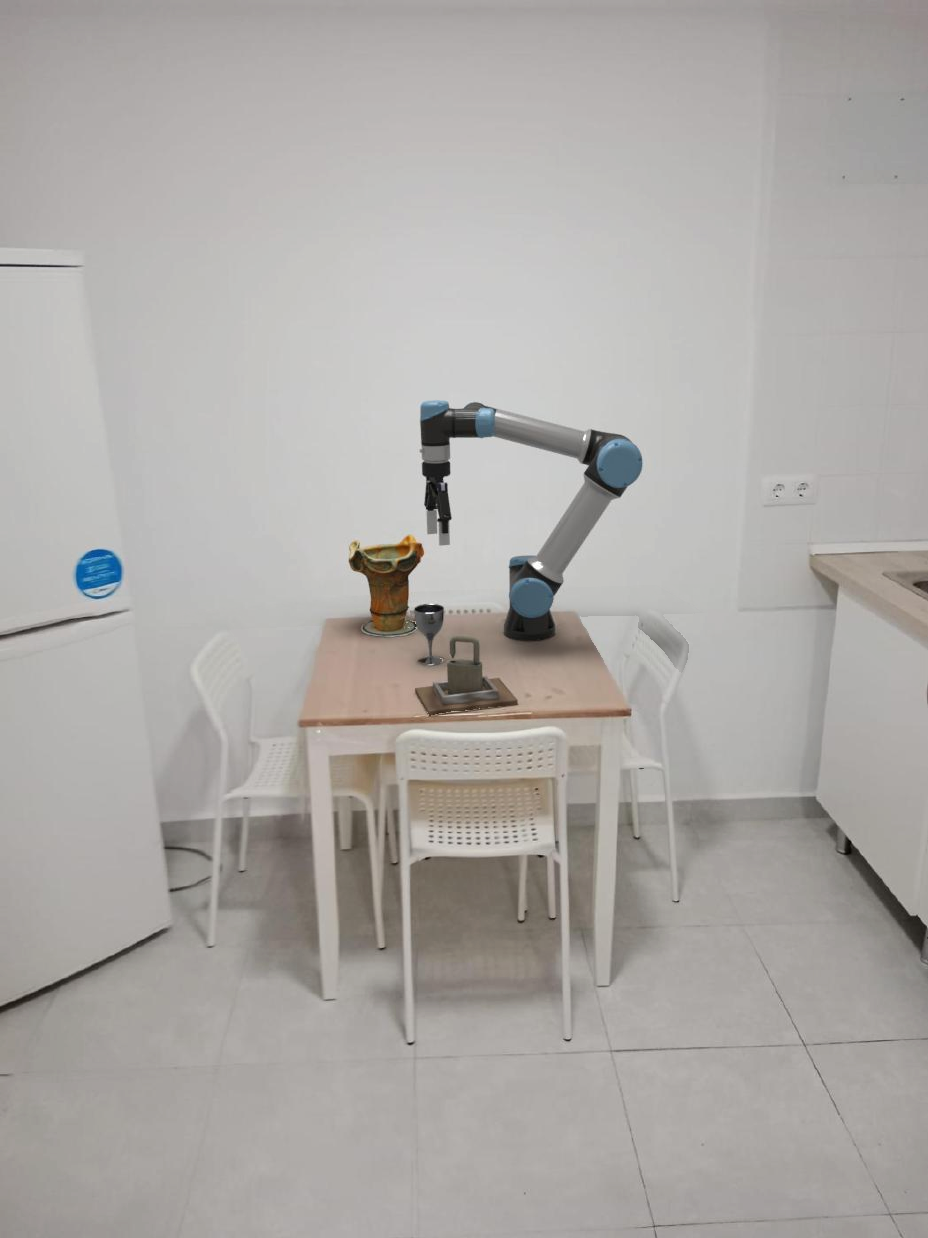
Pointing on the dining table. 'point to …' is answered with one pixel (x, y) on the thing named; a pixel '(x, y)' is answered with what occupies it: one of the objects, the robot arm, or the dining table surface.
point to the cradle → (465, 697)
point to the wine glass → (429, 627)
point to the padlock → (464, 669)
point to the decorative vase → (387, 583)
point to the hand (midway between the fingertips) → (438, 539)
